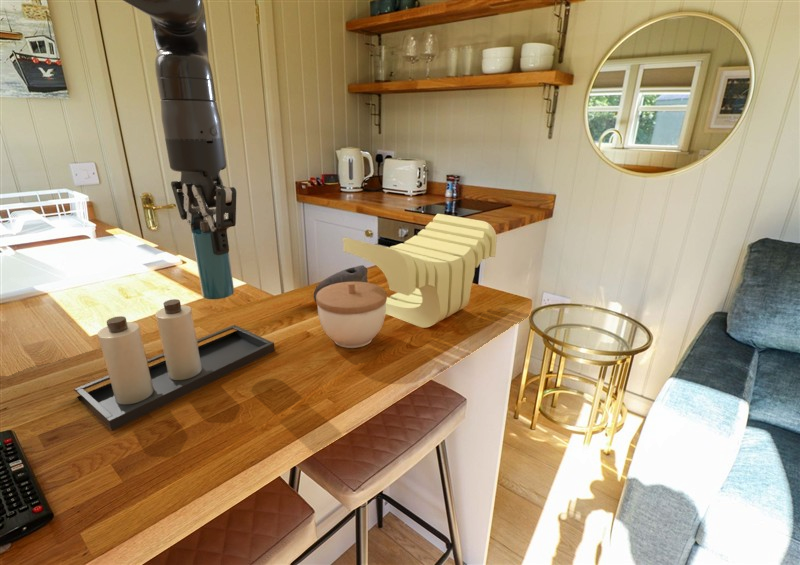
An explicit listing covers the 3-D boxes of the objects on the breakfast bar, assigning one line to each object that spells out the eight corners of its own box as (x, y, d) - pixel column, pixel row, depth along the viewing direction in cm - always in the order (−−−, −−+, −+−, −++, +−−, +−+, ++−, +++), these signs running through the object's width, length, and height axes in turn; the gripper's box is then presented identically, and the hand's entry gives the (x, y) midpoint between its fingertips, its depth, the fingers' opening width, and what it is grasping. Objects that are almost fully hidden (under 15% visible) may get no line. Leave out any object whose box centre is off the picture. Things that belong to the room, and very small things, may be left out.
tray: (77, 401, 61) (74, 388, 60) (235, 334, 80) (234, 324, 79) (112, 434, 54) (109, 421, 53) (275, 353, 74) (274, 342, 73)
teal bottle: (196, 294, 68) (183, 221, 64) (223, 286, 72) (213, 216, 68) (213, 301, 66) (201, 225, 61) (240, 292, 69) (230, 220, 65)
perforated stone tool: (321, 313, 89) (319, 282, 87) (307, 306, 93) (305, 276, 90) (375, 295, 99) (375, 267, 96) (361, 289, 102) (360, 262, 100)
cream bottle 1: (109, 396, 61) (88, 321, 56) (144, 381, 64) (127, 309, 60) (124, 409, 58) (103, 331, 54) (160, 392, 62) (143, 318, 57)
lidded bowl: (392, 352, 74) (392, 294, 70) (319, 359, 72) (315, 299, 68) (381, 321, 86) (380, 270, 82) (318, 326, 83) (314, 273, 80)
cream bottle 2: (162, 373, 66) (147, 303, 62) (191, 360, 70) (179, 293, 66) (178, 384, 64) (163, 311, 59) (208, 370, 67) (195, 300, 63)
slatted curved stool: (407, 349, 75) (409, 253, 69) (346, 323, 85) (343, 236, 79) (491, 300, 97) (498, 223, 90) (434, 283, 106) (437, 213, 100)
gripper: (142, 134, 61) (164, 248, 67) (196, 137, 53) (215, 265, 59) (192, 134, 67) (208, 238, 73) (247, 136, 59) (260, 253, 65)
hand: (211, 250), depth 66 cm, fingers closed on teal bottle, 5 cm apart
